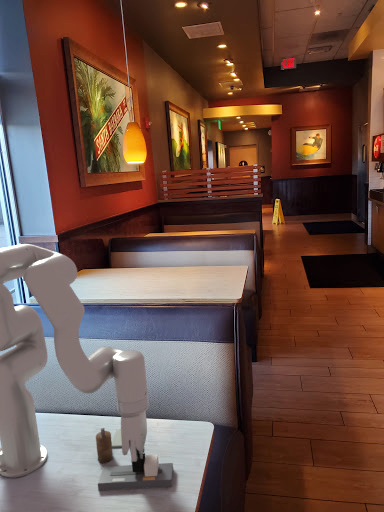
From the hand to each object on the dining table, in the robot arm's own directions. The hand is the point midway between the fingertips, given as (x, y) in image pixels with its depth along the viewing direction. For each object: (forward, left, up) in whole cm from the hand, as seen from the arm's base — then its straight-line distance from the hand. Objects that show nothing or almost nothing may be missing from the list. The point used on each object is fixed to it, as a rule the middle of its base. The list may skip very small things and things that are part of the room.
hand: (139, 469), depth 101 cm
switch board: (-1, 0, -3) cm, 3 cm away
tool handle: (-11, +9, -3) cm, 14 cm away
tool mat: (-6, +17, -3) cm, 19 cm away
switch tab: (+3, 0, 0) cm, 3 cm away
